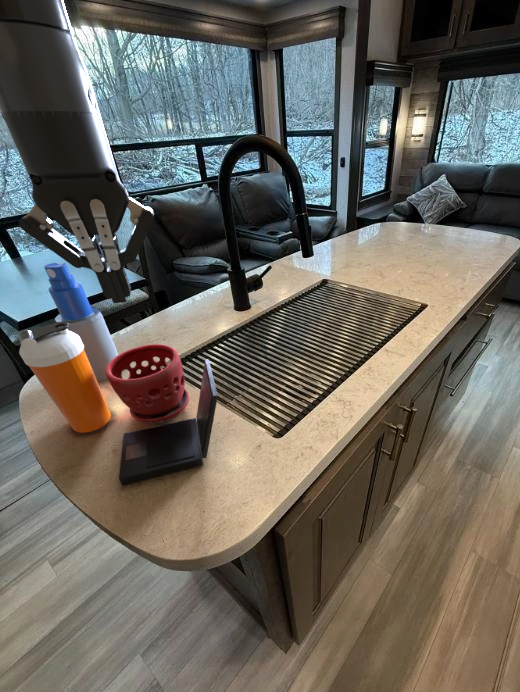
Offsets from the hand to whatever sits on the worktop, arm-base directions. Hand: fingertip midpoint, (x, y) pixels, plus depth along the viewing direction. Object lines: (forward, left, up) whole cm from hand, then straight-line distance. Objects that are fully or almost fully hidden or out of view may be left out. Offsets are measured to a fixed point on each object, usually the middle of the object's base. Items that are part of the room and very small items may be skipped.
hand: (120, 300), depth 40 cm
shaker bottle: (-16, +17, -29) cm, 37 cm away
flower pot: (-3, +16, -29) cm, 33 cm away
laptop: (-3, +3, -29) cm, 29 cm away
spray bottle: (-16, +36, -29) cm, 49 cm away
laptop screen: (+6, +3, -21) cm, 22 cm away
